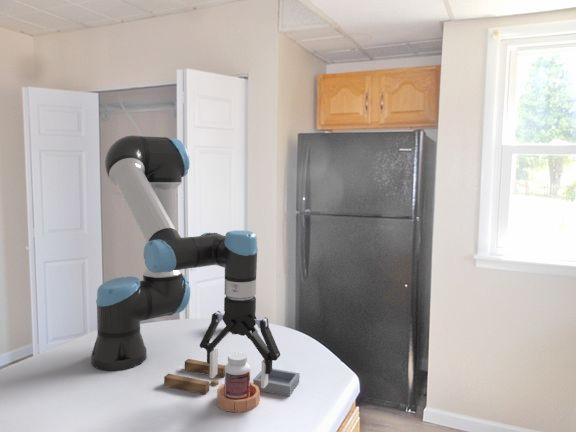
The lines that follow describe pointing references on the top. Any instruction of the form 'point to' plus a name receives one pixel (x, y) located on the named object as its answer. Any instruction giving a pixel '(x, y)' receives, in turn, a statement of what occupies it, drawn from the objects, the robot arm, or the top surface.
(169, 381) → the cradle
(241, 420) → the top surface
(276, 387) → the trough
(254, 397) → the terracotta round dish
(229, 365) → the pill bottle
